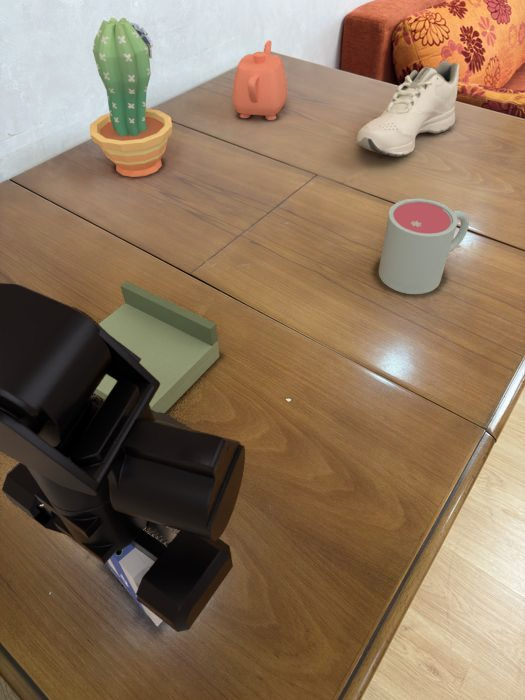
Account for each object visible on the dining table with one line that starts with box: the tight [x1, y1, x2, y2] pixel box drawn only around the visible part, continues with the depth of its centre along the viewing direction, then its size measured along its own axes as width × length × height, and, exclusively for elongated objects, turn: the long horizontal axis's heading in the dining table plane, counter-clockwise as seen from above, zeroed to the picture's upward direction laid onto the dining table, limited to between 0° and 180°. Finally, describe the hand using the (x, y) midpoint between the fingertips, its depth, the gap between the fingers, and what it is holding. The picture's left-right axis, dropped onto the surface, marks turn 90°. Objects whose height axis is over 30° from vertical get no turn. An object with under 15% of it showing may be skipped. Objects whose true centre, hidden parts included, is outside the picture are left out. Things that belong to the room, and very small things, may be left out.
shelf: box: [93, 281, 221, 414], centre depth 66 cm, size 14×15×6 cm
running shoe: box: [355, 60, 460, 158], centre depth 105 cm, size 11×30×13 cm, turn 139°
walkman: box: [105, 544, 164, 627], centre depth 45 cm, size 8×3×12 cm, turn 45°
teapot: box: [232, 40, 288, 121], centre depth 117 cm, size 20×12×12 cm, turn 169°
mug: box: [378, 198, 470, 295], centre depth 77 cm, size 14×9×10 cm
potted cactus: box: [89, 17, 173, 178], centre depth 96 cm, size 15×15×25 cm
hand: (135, 564), depth 47 cm, fingers closed on walkman, 8 cm apart
